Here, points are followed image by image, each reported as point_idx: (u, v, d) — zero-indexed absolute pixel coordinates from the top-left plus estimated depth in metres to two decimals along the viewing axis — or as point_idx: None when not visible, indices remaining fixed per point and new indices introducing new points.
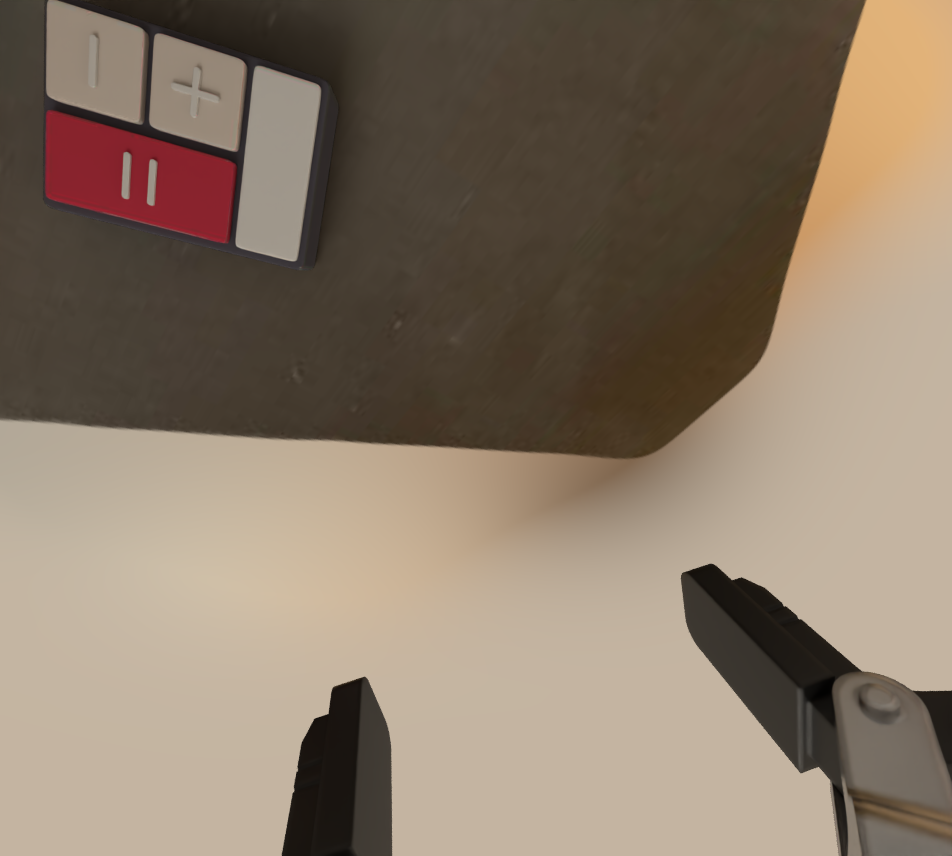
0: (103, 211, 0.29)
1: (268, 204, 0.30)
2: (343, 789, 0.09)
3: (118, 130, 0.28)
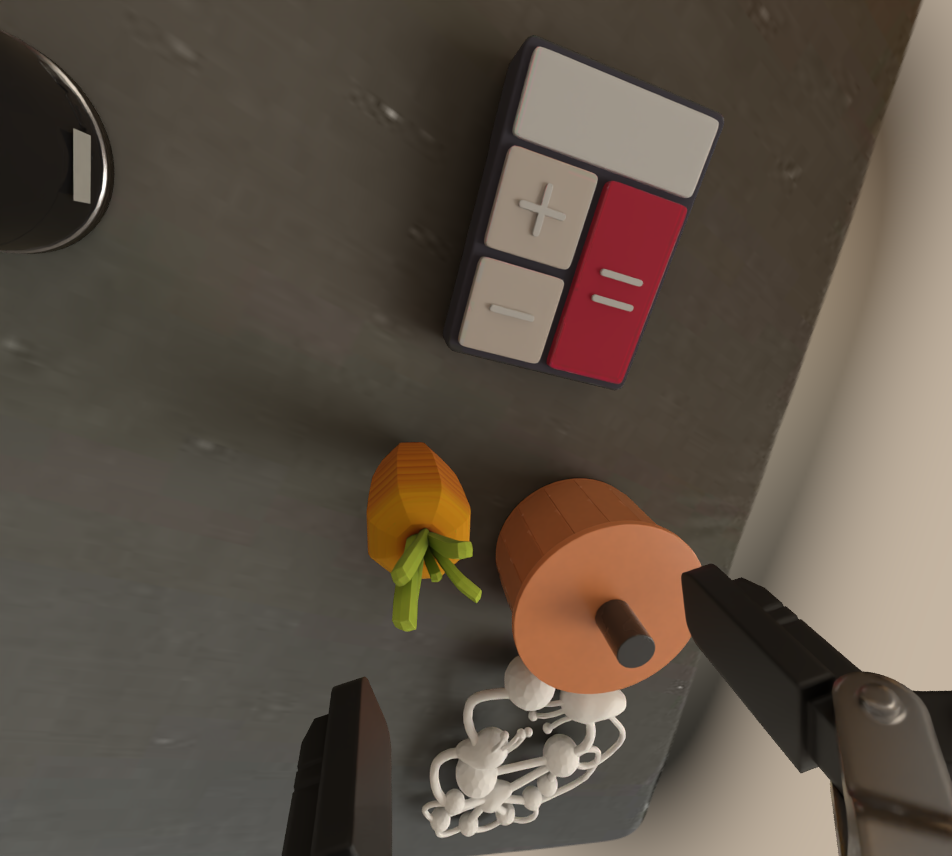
0: (639, 333, 0.28)
1: (653, 146, 0.25)
2: (343, 789, 0.09)
3: (571, 302, 0.26)
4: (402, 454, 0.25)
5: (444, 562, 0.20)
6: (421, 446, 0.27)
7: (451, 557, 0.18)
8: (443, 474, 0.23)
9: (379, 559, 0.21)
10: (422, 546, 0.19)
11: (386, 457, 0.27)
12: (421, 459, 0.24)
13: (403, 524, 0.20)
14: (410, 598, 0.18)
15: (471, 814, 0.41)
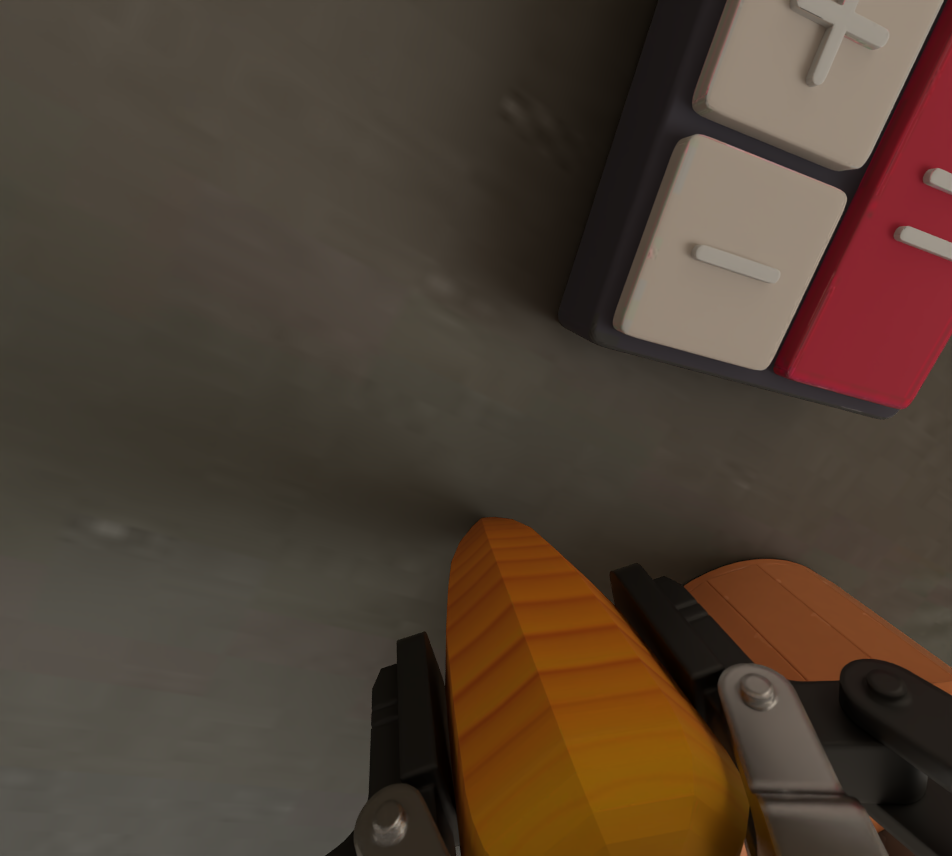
0: None
1: None
2: (422, 722, 0.10)
3: (853, 243, 0.13)
4: (515, 579, 0.11)
5: None
6: (536, 543, 0.13)
7: None
8: (638, 651, 0.09)
9: None
10: None
11: (462, 564, 0.13)
12: (566, 597, 0.10)
13: None
14: None
15: None
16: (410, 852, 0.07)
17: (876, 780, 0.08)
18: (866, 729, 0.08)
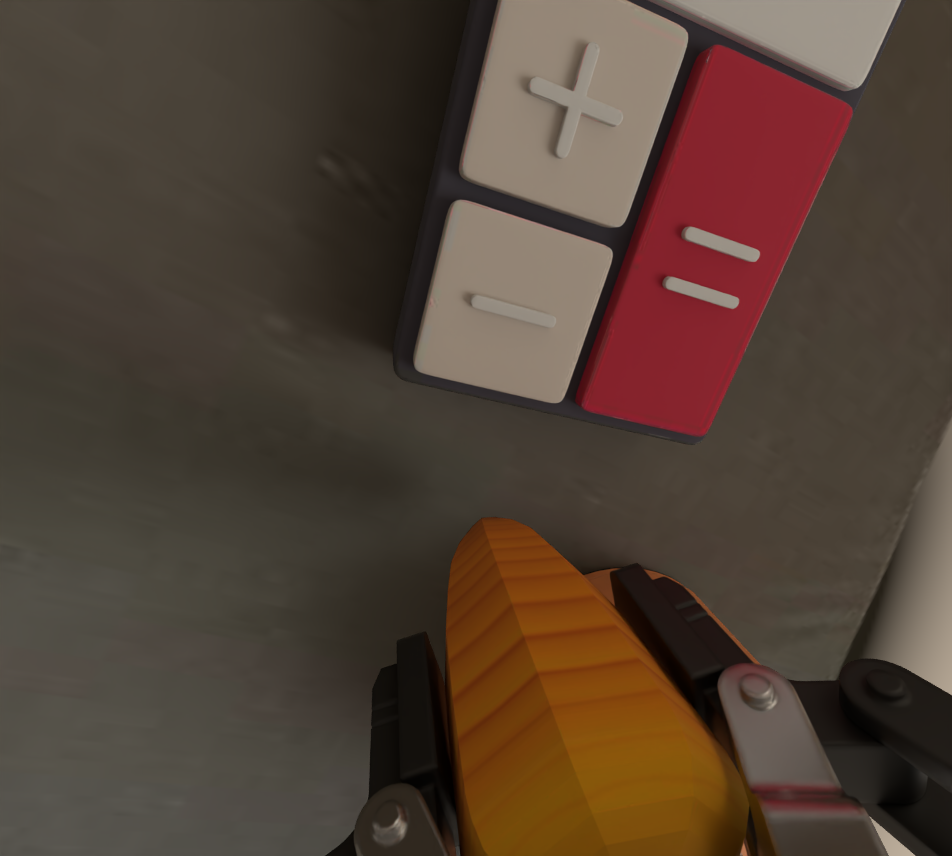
0: (744, 349, 0.15)
1: None
2: (422, 722, 0.10)
3: (625, 291, 0.14)
4: (515, 579, 0.11)
5: None
6: (536, 544, 0.13)
7: None
8: (638, 651, 0.09)
9: None
10: None
11: (462, 564, 0.13)
12: (565, 597, 0.10)
13: None
14: None
15: None
16: (410, 852, 0.07)
17: (876, 780, 0.08)
18: (866, 729, 0.08)
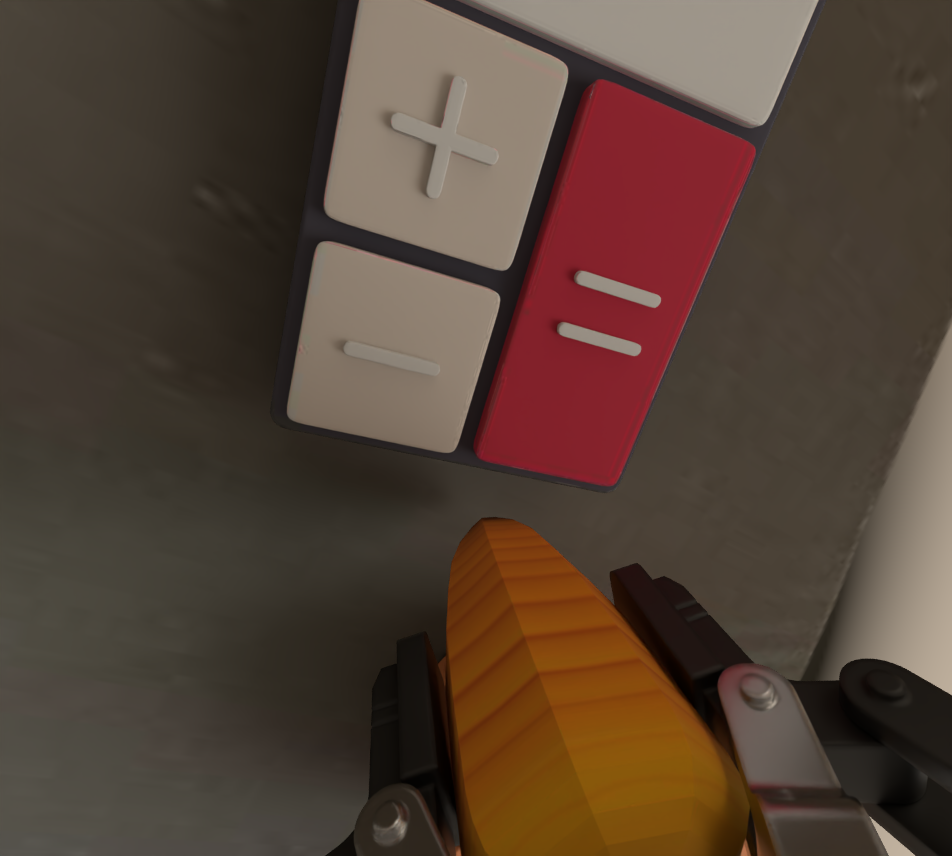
0: (651, 397, 0.14)
1: (691, 6, 0.11)
2: (422, 722, 0.10)
3: (515, 337, 0.13)
4: (515, 580, 0.11)
5: None
6: (537, 544, 0.13)
7: None
8: (638, 651, 0.09)
9: None
10: None
11: (462, 564, 0.13)
12: (566, 597, 0.10)
13: None
14: None
15: None
16: (410, 852, 0.07)
17: (876, 780, 0.08)
18: (867, 729, 0.08)
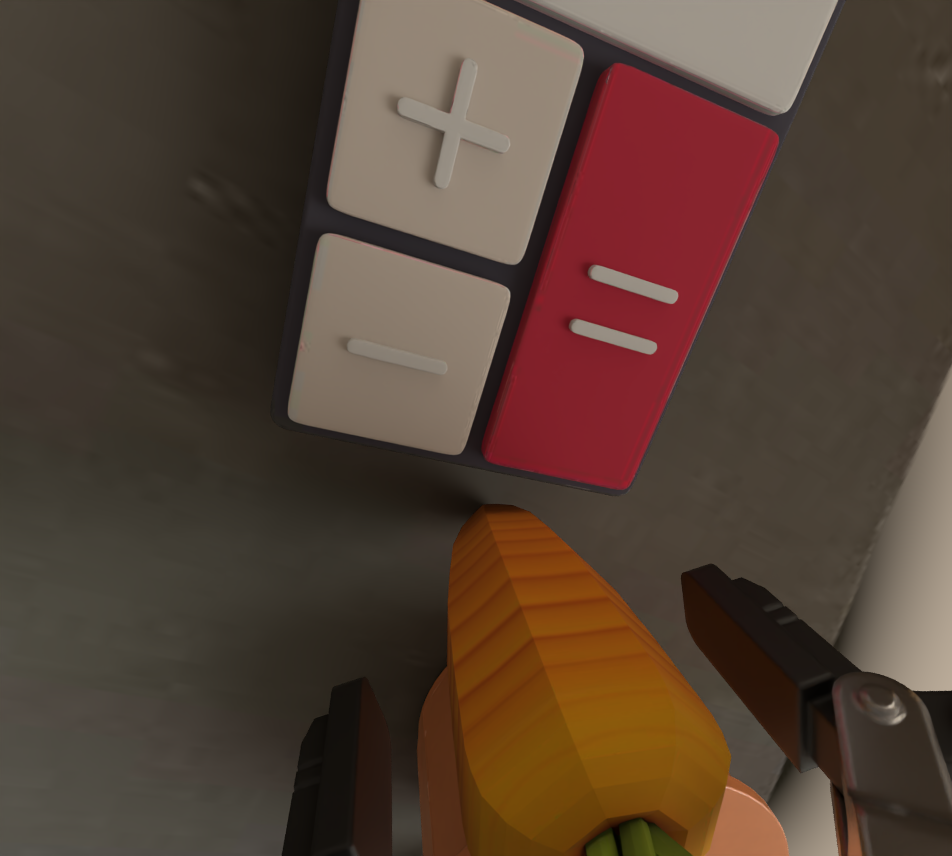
0: (666, 397, 0.14)
1: None
2: (343, 789, 0.09)
3: (526, 335, 0.13)
4: (513, 557, 0.12)
5: None
6: (535, 526, 0.14)
7: None
8: (629, 621, 0.10)
9: None
10: None
11: (464, 545, 0.14)
12: (561, 572, 0.11)
13: (583, 818, 0.07)
14: None
15: None
16: None
17: None
18: None
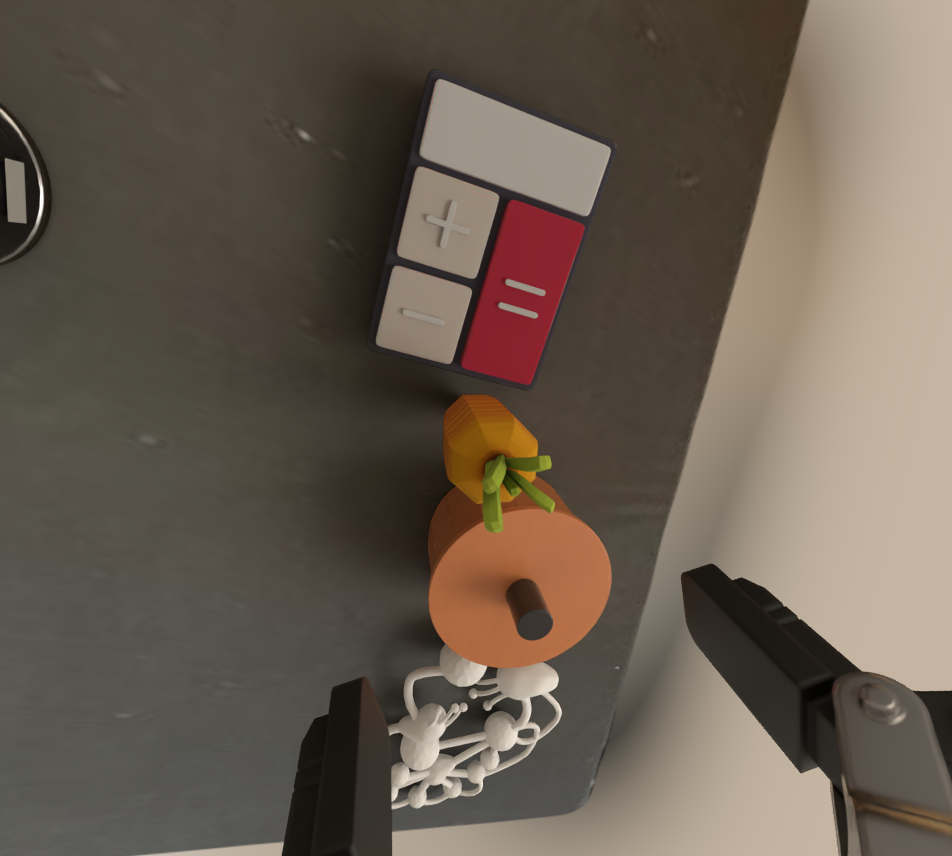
0: (545, 339, 0.30)
1: (551, 169, 0.27)
2: (343, 789, 0.09)
3: (479, 309, 0.29)
4: (470, 399, 0.28)
5: (521, 480, 0.23)
6: (483, 395, 0.30)
7: (532, 469, 0.21)
8: None
9: (460, 482, 0.24)
10: (503, 464, 0.22)
11: (451, 406, 0.30)
12: (488, 402, 0.27)
13: (483, 450, 0.24)
14: (497, 505, 0.21)
15: (419, 787, 0.44)
16: None
17: None
18: None
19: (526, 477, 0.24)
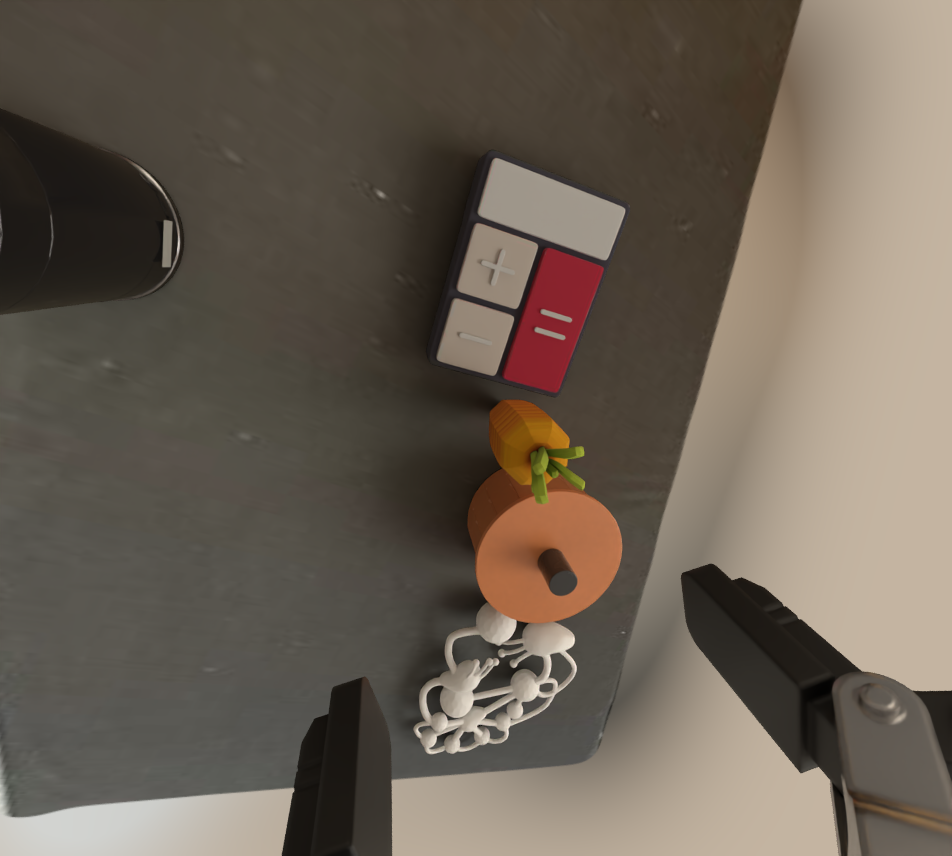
0: (570, 356, 0.38)
1: (578, 225, 0.35)
2: (343, 789, 0.09)
3: (519, 332, 0.36)
4: (512, 404, 0.35)
5: (559, 466, 0.30)
6: None
7: (570, 457, 0.28)
8: None
9: (511, 468, 0.32)
10: (546, 454, 0.30)
11: (494, 409, 0.38)
12: (528, 406, 0.35)
13: (529, 443, 0.31)
14: (544, 483, 0.29)
15: (454, 735, 0.51)
16: None
17: None
18: None
19: None
